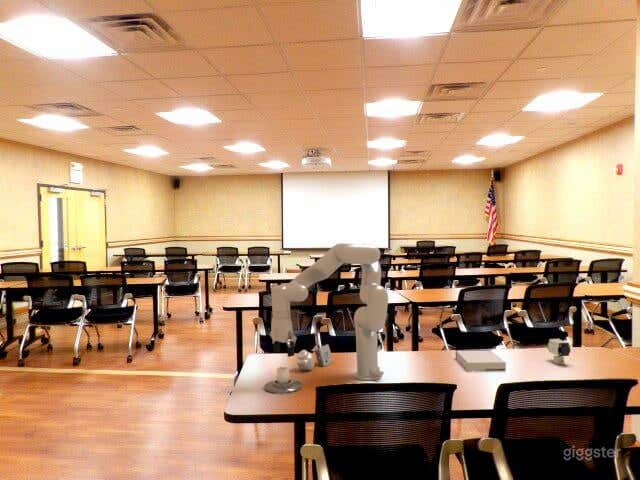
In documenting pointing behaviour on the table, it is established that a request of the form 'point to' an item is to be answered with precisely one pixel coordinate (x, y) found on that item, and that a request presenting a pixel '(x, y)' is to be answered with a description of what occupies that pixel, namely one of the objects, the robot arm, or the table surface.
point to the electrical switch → (324, 356)
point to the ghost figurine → (305, 360)
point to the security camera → (558, 349)
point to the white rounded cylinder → (282, 375)
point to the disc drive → (480, 360)
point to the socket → (283, 386)
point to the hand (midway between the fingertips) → (284, 354)
